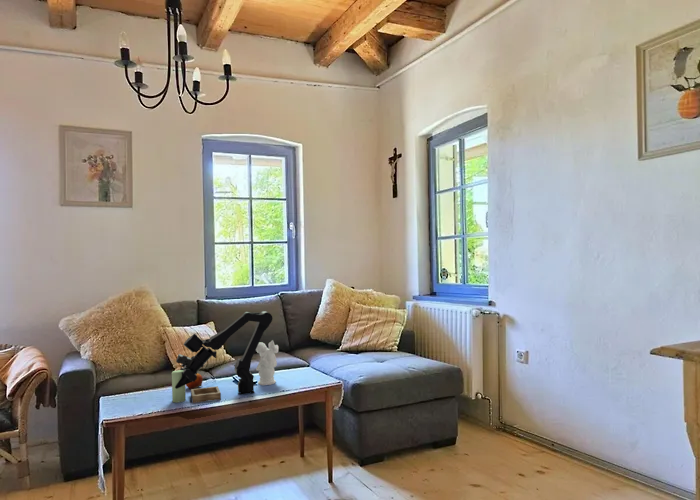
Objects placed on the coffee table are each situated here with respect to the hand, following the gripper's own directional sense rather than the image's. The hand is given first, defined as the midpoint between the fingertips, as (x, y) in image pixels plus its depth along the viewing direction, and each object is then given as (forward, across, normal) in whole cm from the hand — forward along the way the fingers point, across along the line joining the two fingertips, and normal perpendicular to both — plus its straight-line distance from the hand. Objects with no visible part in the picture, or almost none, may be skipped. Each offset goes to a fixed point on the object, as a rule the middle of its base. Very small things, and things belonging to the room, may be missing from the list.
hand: (175, 386), depth 229 cm
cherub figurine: (-27, -13, +37) cm, 48 cm away
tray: (-4, 0, +14) cm, 14 cm away
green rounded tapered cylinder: (+4, 0, +6) cm, 7 cm away
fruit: (-2, -20, +12) cm, 23 cm away
